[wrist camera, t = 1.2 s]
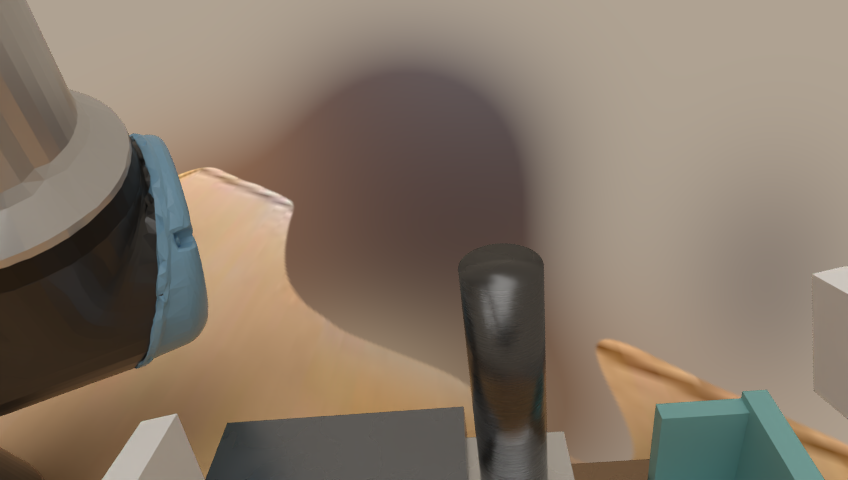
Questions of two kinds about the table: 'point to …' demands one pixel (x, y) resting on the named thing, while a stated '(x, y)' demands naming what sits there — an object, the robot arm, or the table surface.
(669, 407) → the teal bracket
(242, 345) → the table surface
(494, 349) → the metal plate with post
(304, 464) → the base plate with blocks
